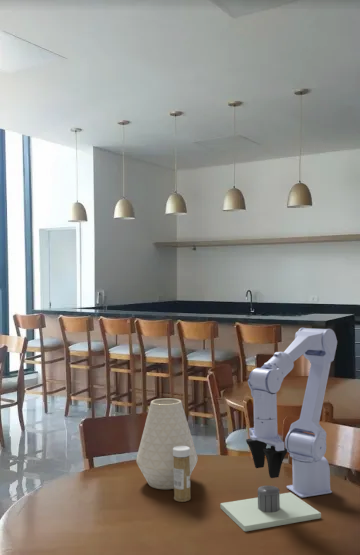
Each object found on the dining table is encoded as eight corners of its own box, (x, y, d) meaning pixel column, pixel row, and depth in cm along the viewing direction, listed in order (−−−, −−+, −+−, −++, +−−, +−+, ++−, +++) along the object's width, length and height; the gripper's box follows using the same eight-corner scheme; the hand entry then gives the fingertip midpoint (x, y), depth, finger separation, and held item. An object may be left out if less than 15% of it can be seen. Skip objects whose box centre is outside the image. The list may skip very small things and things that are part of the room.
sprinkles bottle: (194, 499, 141) (193, 448, 141) (179, 504, 138) (178, 451, 139) (184, 494, 145) (183, 444, 145) (170, 498, 142) (169, 447, 142)
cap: (273, 502, 135) (272, 484, 135) (283, 510, 130) (283, 491, 130) (254, 505, 133) (254, 487, 133) (264, 513, 128) (264, 494, 129)
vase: (209, 478, 156) (207, 398, 157) (176, 498, 142) (175, 410, 142) (159, 468, 166) (158, 393, 166) (124, 486, 151) (123, 404, 152)
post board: (290, 496, 142) (290, 478, 142) (321, 518, 128) (320, 498, 128) (220, 508, 135) (220, 489, 135) (244, 531, 122) (244, 510, 122)
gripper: (238, 412, 139) (239, 465, 139) (265, 425, 126) (266, 484, 125) (262, 409, 142) (263, 461, 141) (291, 422, 128) (292, 480, 128)
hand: (266, 472), depth 134 cm, fingers open, 7 cm apart
